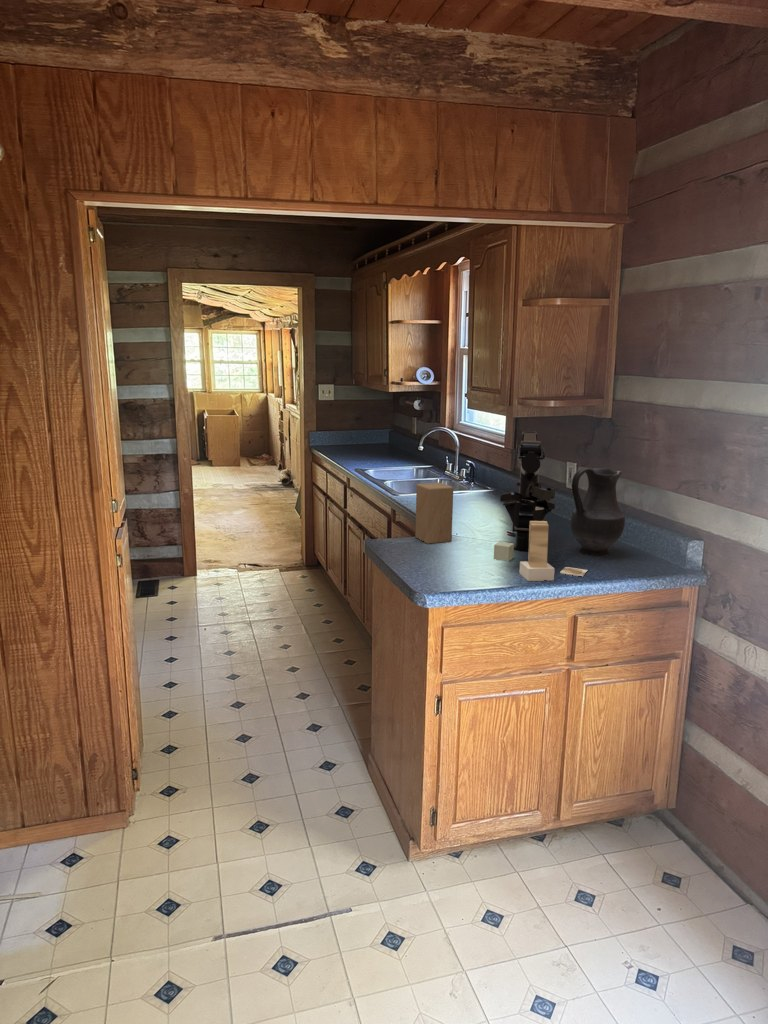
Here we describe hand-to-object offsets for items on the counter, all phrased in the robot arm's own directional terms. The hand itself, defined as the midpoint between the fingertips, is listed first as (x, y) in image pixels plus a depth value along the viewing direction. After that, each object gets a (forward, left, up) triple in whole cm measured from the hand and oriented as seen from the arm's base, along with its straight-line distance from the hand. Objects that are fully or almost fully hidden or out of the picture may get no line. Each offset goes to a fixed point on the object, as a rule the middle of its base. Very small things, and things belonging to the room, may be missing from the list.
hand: (526, 528), depth 224 cm
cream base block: (+8, +6, -13) cm, 16 cm away
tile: (-2, +15, -12) cm, 20 cm away
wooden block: (-17, -39, -13) cm, 44 cm away
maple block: (+8, +6, -9) cm, 14 cm away
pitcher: (-27, +15, -13) cm, 33 cm away
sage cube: (-6, -9, -12) cm, 16 cm away
